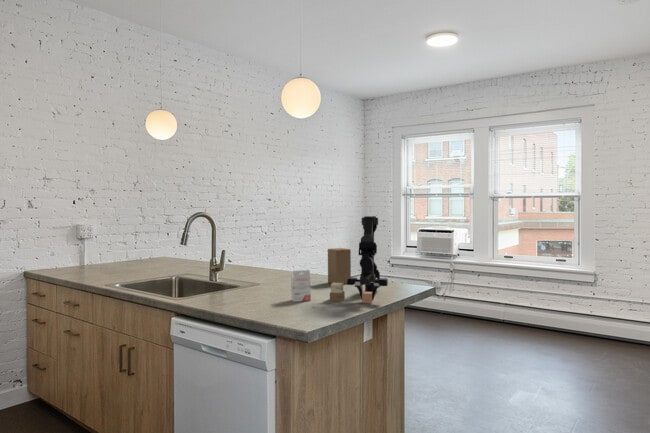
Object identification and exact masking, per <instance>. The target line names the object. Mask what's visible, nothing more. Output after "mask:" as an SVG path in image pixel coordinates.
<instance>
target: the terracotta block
mask: <svg viewBox="0 0 650 433" xmlns="http://www.w3.org/2000/svg"><path fill="white" fill-rule="evenodd" d="M372 294H373V292H364V291H363V293H362V298H361V303H362V304H373V302H374V299H373V300H372Z"/></svg>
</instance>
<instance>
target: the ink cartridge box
mask: <svg viewBox="0 0 650 433" xmlns="http://www.w3.org/2000/svg"><path fill="white" fill-rule="evenodd" d="M292 273H293V274H292V275H291V276H290V278H291V279H290V282H291V285H290V286H291V289H290V290H291V301H292V302H307V301H311V297H312V296H311V276H310V275H311V271H310V270H309V269H305V270H304V269H301V270H293V271H292Z"/></svg>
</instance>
